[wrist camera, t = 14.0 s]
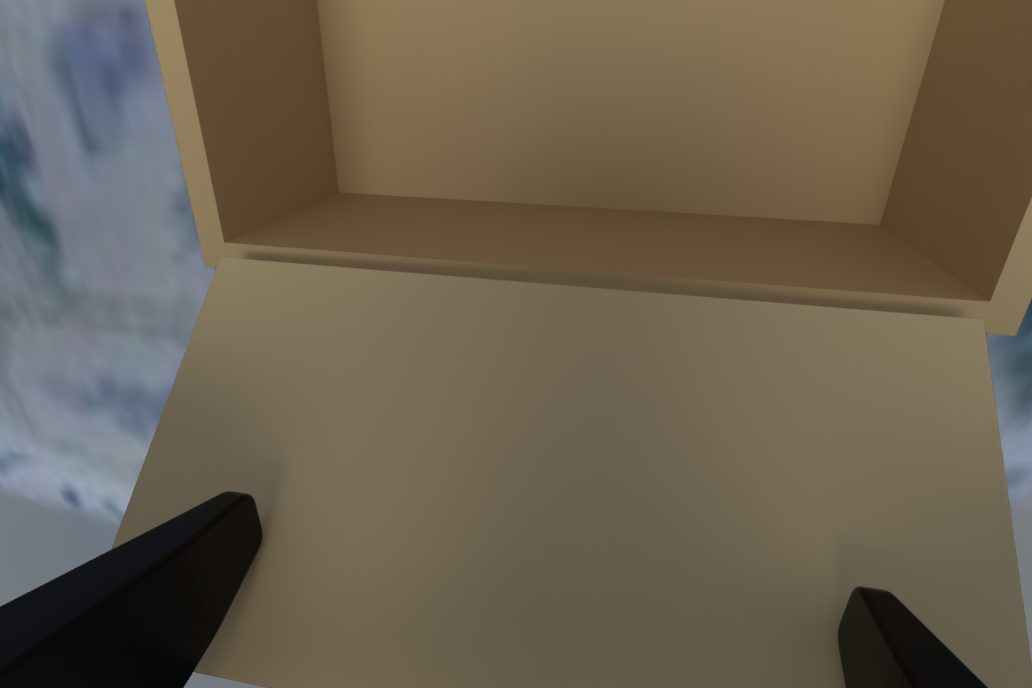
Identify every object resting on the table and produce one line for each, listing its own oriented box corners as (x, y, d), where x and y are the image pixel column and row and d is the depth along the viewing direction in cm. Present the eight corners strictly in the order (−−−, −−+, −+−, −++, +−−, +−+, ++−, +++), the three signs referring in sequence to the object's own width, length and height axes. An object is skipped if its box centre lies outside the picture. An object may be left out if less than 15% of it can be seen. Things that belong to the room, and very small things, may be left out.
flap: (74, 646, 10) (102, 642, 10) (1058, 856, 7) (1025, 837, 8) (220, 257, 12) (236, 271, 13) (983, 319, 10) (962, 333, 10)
